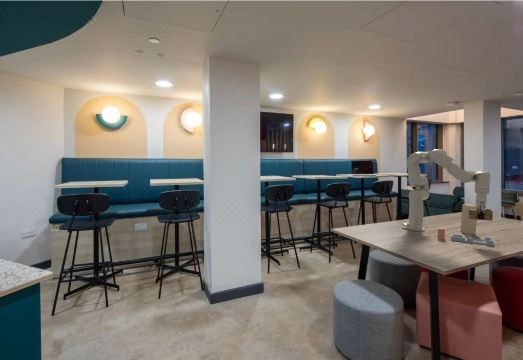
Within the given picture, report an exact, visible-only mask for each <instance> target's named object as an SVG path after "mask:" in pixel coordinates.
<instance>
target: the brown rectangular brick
mask: <svg viewBox="0 0 523 360" xmlns="http://www.w3.org/2000/svg"><path fill="white" fill-rule="evenodd" d="M445 236H446V228H445V227H437V239H439V240H445V239H446V237H445Z"/></svg>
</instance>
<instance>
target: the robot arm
mask: <svg viewBox="0 0 523 360" xmlns="http://www.w3.org/2000/svg"><path fill="white" fill-rule="evenodd" d="M428 163H435V164H437V165H439V166H440V167H442V168H443V169H444V170H445V171H446V172H447V173H448V174H449V175H450V176H451V177H452V178H454V179H456V180H458V181H459V182H460V183H465V184H466V183H475V184H474V193H475V195H476V196H475V204H474V205H475V207H476V208H478V209H479V213H478V219H484V210H485V209H487V200H488V195H489V194H490V189H491V188H490V187H491V186H490V185H491V172H488V171H475V170H466V169H463V168H462V167H460V166H459V165H458V164H457V162H456V160H455V159H454V158H453V157H451V156H449V155H448V153H447V151H445V150H444V149H440V148H439V149H436V148H435V149H432V150H431V151H417V152H416V151H415V152H413V153H411V154H410V155H409V156H408V157H407V160H406V167H407V177H408V184H409V185H410V187H412V188H414V189H411V190H410V191H409V193H408V203H409V205H408V206H409V210H408V211H409V214H408V222H402V226H405V227H406V229H407V230H409V231H415V232H424V231H425V230H426V228H424V226H423V225H424V202H423V201H425V200H428V199H429V198H430V187H429V180H428V178H427V176H425V175H423V174H421V167H420V166H419V164H428Z"/></svg>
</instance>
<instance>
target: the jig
mask: <svg viewBox="0 0 523 360" xmlns="http://www.w3.org/2000/svg"><path fill="white" fill-rule="evenodd" d="M465 235H466V236H465ZM465 235H464V234H456V233H455V234H453V233H450V241H452V242H453V241H454V242H461V243H469V244H475V245H477V244H478V245H483V246H491V247H494V246H495V243H494V239H493V238H492V237H487V236H485V237H484V239H480V238H474V237H473V235H472V234H465Z"/></svg>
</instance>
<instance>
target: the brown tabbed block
mask: <svg viewBox="0 0 523 360" xmlns="http://www.w3.org/2000/svg"><path fill="white" fill-rule="evenodd" d="M478 213H479V209H469V217H468V218H470V219H475V220H477V221H488V222H489V221H491V222H492V221H493V217H494V215H493V214H494V211H492V209H491V208H485V209H484V219H478Z"/></svg>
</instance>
